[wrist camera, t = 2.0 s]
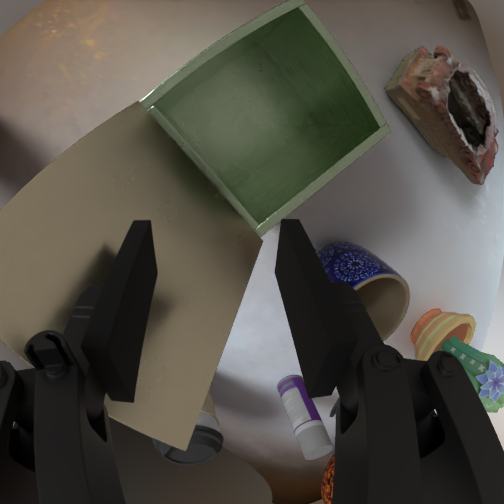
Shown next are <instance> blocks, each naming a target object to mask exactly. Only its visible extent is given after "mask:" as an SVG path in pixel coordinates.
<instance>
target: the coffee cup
mask: <svg viewBox="0 0 504 504" xmlns="http://www.w3.org/2000/svg"><path fill="white" fill-rule="evenodd" d="M153 443H154V444H155V449H156V450H157V452H158V453H159V454H160V455H162V456H163V457H164V458H165V459H166V460H168V461H169V462H171V463H174V464H178V465H199V464H203V463H206V462H209V461H210V460H212V459H213V458H214V457H215V455H216V454H217V453H218V452H219V451H220V449H221V448H222V443H223V436H222V434H221V433H220V431H219V422H218V419H217V415H216V412H215V409H214V405H213V401H212V398H211V394H210V391H208V394H207V396H206V399H205V402H204V404H203V407H202V410H201V412H200V415H199V418H198V420H197V423H196V426H195V428H194V431H193V434H192V436H191V439H190V442H189V444H188V447H187V450H186V451H184V450H181V449H178V448H176V447H173V446H171V445H168V444H166V443H163V442H161V441H159V440H156V439H154V438H153Z"/></svg>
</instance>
